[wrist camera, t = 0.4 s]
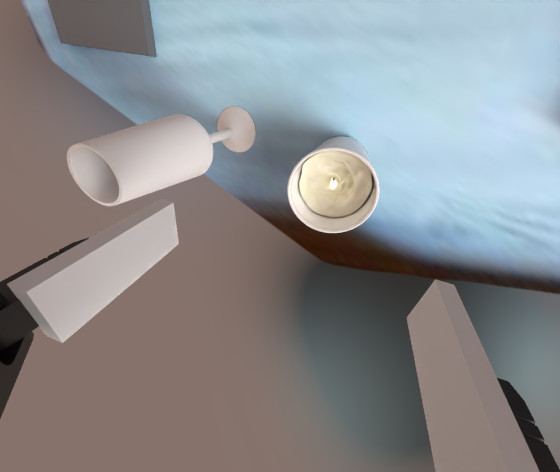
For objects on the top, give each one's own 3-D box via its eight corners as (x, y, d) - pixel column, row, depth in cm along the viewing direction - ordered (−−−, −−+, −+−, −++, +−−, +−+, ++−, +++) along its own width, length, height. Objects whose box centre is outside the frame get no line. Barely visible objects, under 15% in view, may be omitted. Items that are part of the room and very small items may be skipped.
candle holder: (301, 186, 39) (280, 219, 29) (316, 122, 33) (296, 136, 23) (360, 203, 37) (359, 243, 27) (386, 138, 32) (396, 161, 22)
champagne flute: (209, 118, 37) (40, 150, 18) (242, 97, 34) (83, 109, 15) (230, 158, 40) (102, 226, 20) (262, 142, 37) (150, 204, 17)
